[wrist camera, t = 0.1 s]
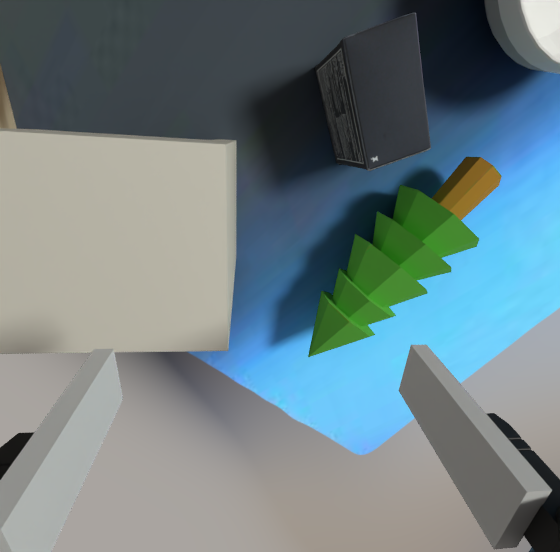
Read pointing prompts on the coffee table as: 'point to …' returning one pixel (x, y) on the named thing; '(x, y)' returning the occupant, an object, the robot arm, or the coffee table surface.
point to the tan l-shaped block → (5, 106)
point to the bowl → (527, 31)
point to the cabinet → (115, 242)
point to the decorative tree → (401, 255)
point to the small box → (375, 95)
